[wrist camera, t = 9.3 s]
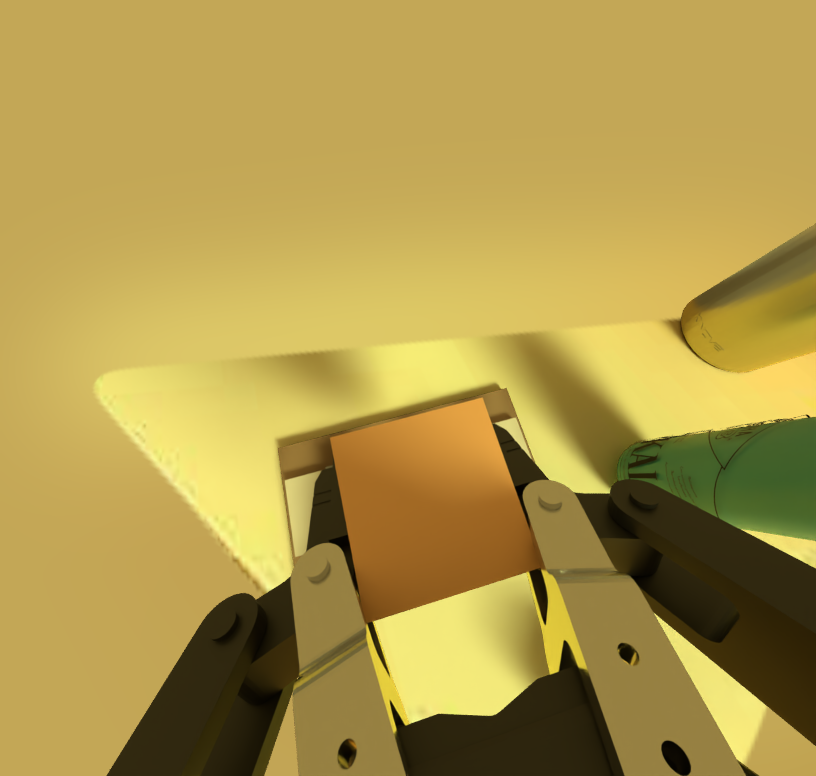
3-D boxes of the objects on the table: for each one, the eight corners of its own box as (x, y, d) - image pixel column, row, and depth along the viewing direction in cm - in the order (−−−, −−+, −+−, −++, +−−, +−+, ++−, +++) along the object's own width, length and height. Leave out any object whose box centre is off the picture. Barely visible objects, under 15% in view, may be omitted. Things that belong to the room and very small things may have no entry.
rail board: (503, 391, 29) (516, 379, 26) (550, 517, 26) (573, 523, 22) (282, 449, 27) (264, 445, 24) (302, 592, 24) (285, 612, 21)
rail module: (439, 442, 17) (482, 397, 8) (461, 514, 16) (542, 566, 6) (373, 461, 17) (330, 437, 7) (390, 535, 16) (364, 623, 6)
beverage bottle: (690, 492, 26) (1440, 533, 7) (634, 531, 25) (1328, 699, 6) (640, 429, 28) (1144, 326, 9) (586, 464, 27) (1019, 432, 8)
